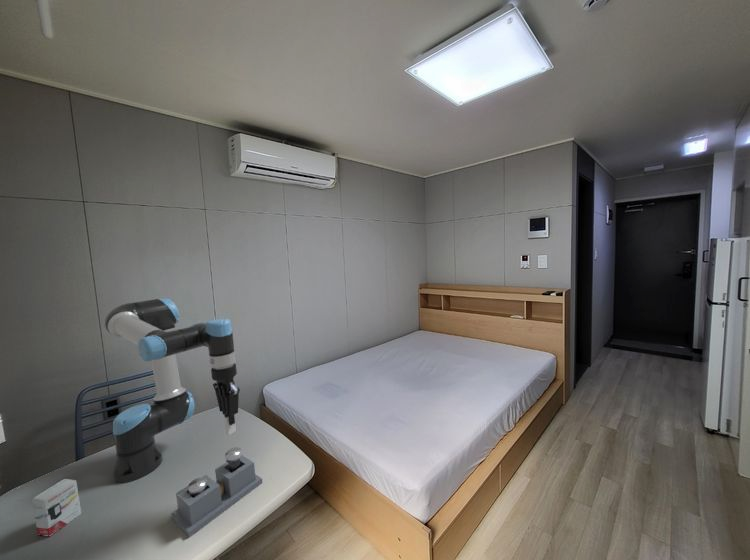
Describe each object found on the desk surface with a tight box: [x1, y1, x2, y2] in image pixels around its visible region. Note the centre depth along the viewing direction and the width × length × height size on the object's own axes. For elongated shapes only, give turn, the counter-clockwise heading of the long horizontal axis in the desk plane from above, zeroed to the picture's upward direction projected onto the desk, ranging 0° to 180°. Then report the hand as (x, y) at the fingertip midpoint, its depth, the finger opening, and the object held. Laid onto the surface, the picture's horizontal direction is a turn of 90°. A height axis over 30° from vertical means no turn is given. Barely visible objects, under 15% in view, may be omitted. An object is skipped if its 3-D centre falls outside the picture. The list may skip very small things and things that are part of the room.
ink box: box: [31, 478, 82, 536], centre depth 93 cm, size 9×5×12 cm, turn 168°
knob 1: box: [187, 476, 207, 498], centre depth 94 cm, size 5×5×8 cm
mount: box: [170, 455, 263, 538], centre depth 99 cm, size 12×24×8 cm, turn 145°
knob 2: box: [224, 447, 243, 473], centre depth 103 cm, size 5×5×8 cm
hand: (231, 432), depth 102 cm, fingers closed
